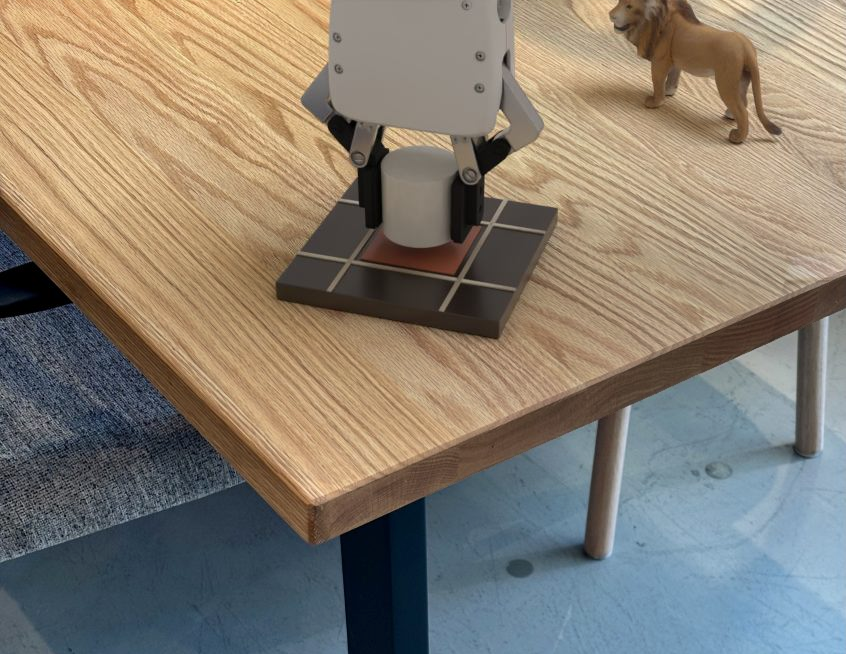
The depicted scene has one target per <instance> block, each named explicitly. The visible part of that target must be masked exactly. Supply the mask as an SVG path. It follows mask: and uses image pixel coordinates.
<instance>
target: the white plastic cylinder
mask: <svg viewBox="0 0 846 654" xmlns="http://www.w3.org/2000/svg"><path fill="white" fill-rule="evenodd" d="M457 176H458V166H457V162H456V158H455V155H454V152H452V151H450V150H448V149H446V148H442V147H439V146H434V145H424V144H423V145H409V146H403V147H399V148H396V149H394V150H391V151H389V153H388V154H387V155H386V156H385V157H384V158H383V159H382V161H381V198H382V229H383V233H384V234H385V236H386V237H387V238H388V239H389V240H391V241H392V242H394V243H396V244H399V245H402V246H406V247H412V248H429V247H435V246H440V245H443V244H445V243H448V242H449V241H451V186H452V183H453V182H454V180H455V179H456V177H457Z"/></svg>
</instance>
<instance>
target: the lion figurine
mask: <svg viewBox="0 0 846 654" xmlns="http://www.w3.org/2000/svg"><path fill="white" fill-rule="evenodd" d="M608 17H609V21H610V22H611V23H613V32H614V34H616V35H621V34H622V35H623V37H624V38H625V40H626V41H628V42H629V43H630V44H632V45H633V46H634V47H636V55H637V56H638V57H640V58H641V59H643V60H645V61H647V62H650V71H651V72H650V74H651V75H650V76H651V83H652V88H653V95H647V96H646V97H644V100H643V103H644V105H645V107H646V108H651V109H652V108H658V107H660V106H661V105H663V104H664V102H665V99H666V96H672V95H674V94H676V92H677V91H678V89H679V83H680V77H681V73H682V71H683V72H685V73H687V74H688V75H691V76H693V77H696V78H712V77H714V82H715V86H716V89H717V93H718V96H719V98H720V99H721V101H722V103H723V104H724V106H725V107H726V109H725V111H724V114H725V116H726V117H727V118H729V119H733V120H734V122H735V123H736V126H737V127H736V128H732V129H731V130H730V131H729V134H728V139H729V140H730V142H732V143H741V142H743V141H745V140H746V139H747V137H748V135H749V133H750V125H749V123H750V122H749V112H748V111H749V110H748V109H747V108H748V106H749V101H748V96H747V95H748V90H749V87H750V85H751V89H752V95H753V96H752V97H753V101H754V102H753V103H754V107H755V110H756V115H757V117H758V119H759V121H760V123H761V125H762V127H763V128H764V130H765V131H766V132H767V133H769V135H774V136H780V135H782V134H783V130H782V129H781V128H780V127H779V126H778V125H776V124H775V123H773V122H772V121H770V119H768V117H767V116H766V113H765V111H764V107H763V100H762V99H763V98H762V89H761V88H762V87H761V75H760V68H759V63H758V59H757V58H758V54H757V53H758V52H757V49H756V46H755V45H754V43H753V42H752V40H751V39H749V37H747V36H746V35H745V34H744V33H741V32H738V31H729V30H723V29H722V30H721V29H718V28H715V27H712V26H710V25H707V24H704V23H703V22H701V20H699V18H698V17H697V16H696V14H695V12H694V10H693V7H692V5H691V4H690V3H689V2H688V0H618V2H617V4H616V5H615V6H614V7H613V8H612V9H611V10H610V11H609V12H608Z"/></svg>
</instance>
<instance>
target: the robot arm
mask: <svg viewBox="0 0 846 654" xmlns="http://www.w3.org/2000/svg"><path fill="white" fill-rule="evenodd" d="M514 20H515V19H514V4H513V0H330V8H329V23H328V51H327V52H328V53H327V54H328V61H327V62H326V64H325V65H324V66H323V68H322V69H321V71H319V73H318V74H317V75H316V77H315V78H314V80H312V82H311V83H310V85H309V86H308V87H307V88H306V89H305V91H304V92H303V93H302V95H301V97H300V103H301V105H302V106H303V108H305V109H306V110H307V111H308V112H309V113H310V114H311V115H312V116H313V117H314V118H316V119H317V120H318V121H319V122H320V123H321V124H324V125H325V126H326V127H327V130H328V132H329V134H330V135H331V136H332V137H333V138H334V139H335V140H336V141H337V142H338V143H339V144H340V145H341V147H343V149H344V150H345V151H346V152H347V154H348V160H349V162H350V164H351V165H352V166H353V167H355V168H356V170H357V173H356V174H357V177H358V199H359V206H360V207H361V208H365V226H366V228H369V229H376V227H377V228H378V227H379V226H380V224H381V223H382V198H381V161H382V159H383V158H384V157H385V156H386V155H387V154H388V153H390V147H389V148H388V147H385V145H384V144H383V143H384V140H385V137H386V131H387V128H395V129H401V130H408V131H415V132H422V133H429V134H436V135H443V136H449V139H450V142H451V146H452V150H453V153H454V155H455V158H456V162H457V166H458V176H457V177H456V179H455V180H454V182H453V183H452V186H451V240H453V242H454V243H459V244H463V242H464V240H465V239H466V237H467V235H468V234H469V232H470V231H471V229H472V227H473V226H479V224H480V223H481V221H482V218H483V213H484V197H485V187H486V186H485V183H486V175H487V174H488V173H489V172H491V171H492V170H493V169H494V168H496V167H497V166H499V165H500V164H501V163H502V162H504V161H505V160H506V159H507V158H508V157H509V156H510V155H512V154H514V153H516V152H518V151H520V150H522V149H523V148H525V147H527V146H529V145H530V144H532V143H534V142H535V141H537V140H538V139H539V137H540V135H542V132H543V130H544V128H545V122H544V120H543V118H542V117H541V115H540V114H539V112H538V111H537V109H536V108H535V106H534V105H533V103H532V102H531V100H530V99H529V97H528V96H527V94H526V93H525V91H524V90H523V88H522V87H521V85H520V84H519V83H518V81H517V79H516V42H515V40H516V39H515V21H514ZM499 111H501V112H502V114H503V115H504V117H505V118H506V119H507V121H508V123H509V126H508V127H507V128H504V129H500V130H498V131H497V132H496V133H495V134H494V135H492V137H490V138H489V134H491V133H492V132H493V131H494V129H495V127H496V124H497V117H498V113H499Z"/></svg>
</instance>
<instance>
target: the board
mask: <svg viewBox="0 0 846 654" xmlns="http://www.w3.org/2000/svg"><path fill="white" fill-rule="evenodd" d="M558 217H559V208H558V207H554V206H548V205H542V204H535V203H529V202H521V201H517V200H516V201H515V200H510V198H509V197H504V198H503V199H502V198H498V197H497V198H495V197H491V196H490V197H489V196H484V213H483V218H482V221H481V223H480V224H479V226H473V227H472V229H471V231H470V232H469V234H468V235H467V237H466V239H465V240H464V242H463V244H459V243H454V242H453V240H451V241H449V242H448V243H445V244H443V245H440V246H435V247H429V248H412V247H406V246H402V245H399V244H396V243H394V242H392V241H391V240H389V239H388V238H387V237H386V236H385V234H384V233H383V229H382V223H381V224H380V226H379V227H378V228H377V227H376V229H369V228H366V226H365V208H361V207H360V206H359V199H358V176H356V177H355V178H354V180H353V181H352V182H351V183H350V185H349V186H348V187H347V189H346V190H345V191H344V193H343V194H342V196H340V198H337V200H336V203H335V204H334V206H333V207H332V209H331V210H329V212H328V214H327V215H326V216H325V217H324V218H323V220H322V221H321V223H320V224H319V225H318V226H317V228H316V229H315V231H314V232H312V234H311V235H310V237H309V238H308V239H307V241H306V242H305V243H304V244H303V246H302V247H301V248H300V250H297V251H296V252H295V257H294V258H293V259H292V260H291V262H290V263H289V264H288V265H287V267H286V268H285V269H284V270H283V272H282V273H281V274H280V276H279V277H277V280H276V281H275V282H274V283H275V292H276V293H275V294H276V295H275V296H276V299H277V300H281V301H287V302H292V303H297V304H302V305H307V306H308V305H309V306H315V307H320V308H325V309H326V308H327V309H332V310H336V311H342V312H348V313H353V314H359V315H364V316H370V317H375V318H381V319H385V320H392V321H398V322H404V323H407V324H408V323H409V324H414V325H420V326H424V327H425V326H426V327H431V328H437V329H442V330H446V331H447V330H448V331H453V332H458V333H465V334H470V335H476V336H481V337H485V338H486V337H487V338H492V339H499V338H500V337H501V335H502V332H503V331H504V329H505V327H506V325H507V323H508V321H509V319H510V317H511V315H512V313H513V311H514V309H515V307H516V306H517V303H518V302H519V299H520V297H521V295H522V293H523V291H524V290H525V288H526V285H527V284H528V281H529V280H530V278H531V277H532V276H531V275H532V274H533V272H534V270H535V268H536V266H537V264H538V262H539V260H540V259H541V256H542V254H543V252H544V250H545V249H546V246H547V244H548V242H549V241H550V238H551V237H552V235H553V232H554V230H555V229H556V226H557V225H558V219H559V218H558Z"/></svg>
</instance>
